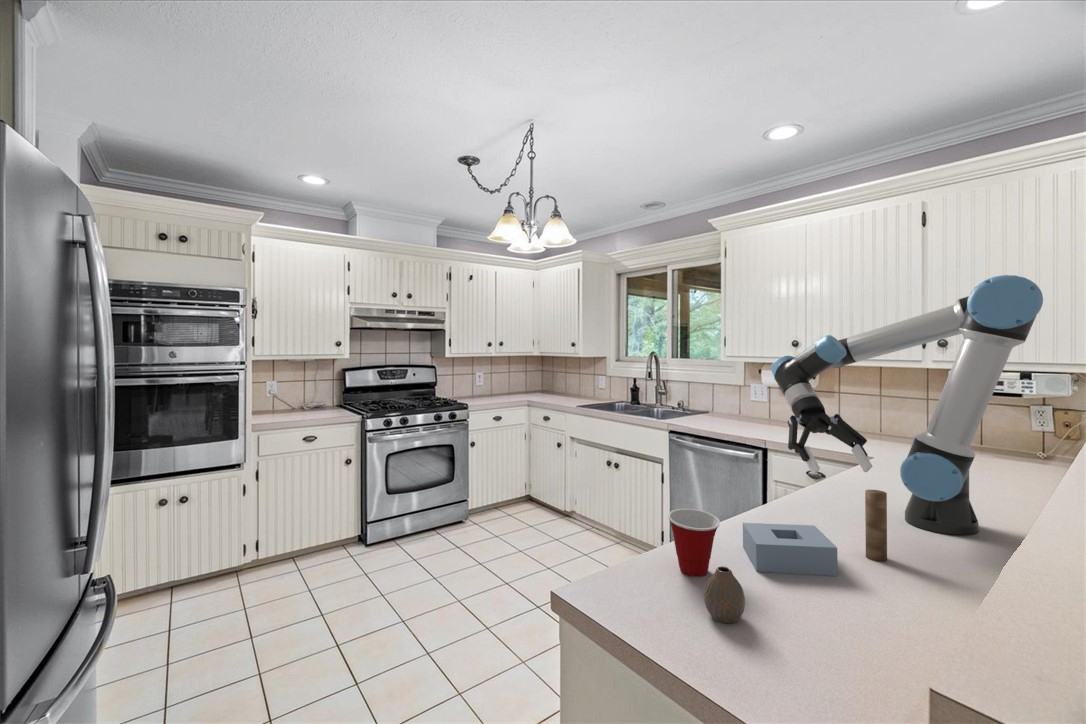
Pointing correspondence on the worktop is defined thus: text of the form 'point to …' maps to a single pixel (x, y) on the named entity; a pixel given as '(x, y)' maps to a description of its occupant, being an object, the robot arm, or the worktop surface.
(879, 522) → the walnut peg
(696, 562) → the plastic cup
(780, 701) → the worktop surface
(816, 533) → the bore block
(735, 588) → the vase
